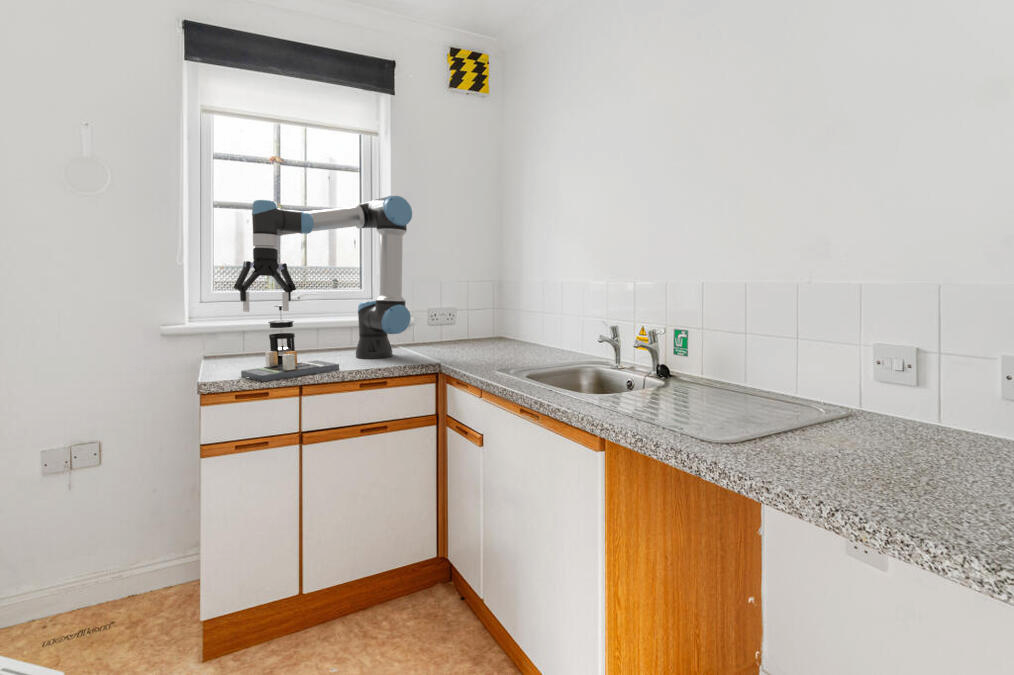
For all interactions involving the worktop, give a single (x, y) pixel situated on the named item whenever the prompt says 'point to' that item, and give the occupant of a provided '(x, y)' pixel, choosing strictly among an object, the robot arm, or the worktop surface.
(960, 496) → the worktop surface
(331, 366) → the panel
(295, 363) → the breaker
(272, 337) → the french press
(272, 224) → the robot arm
